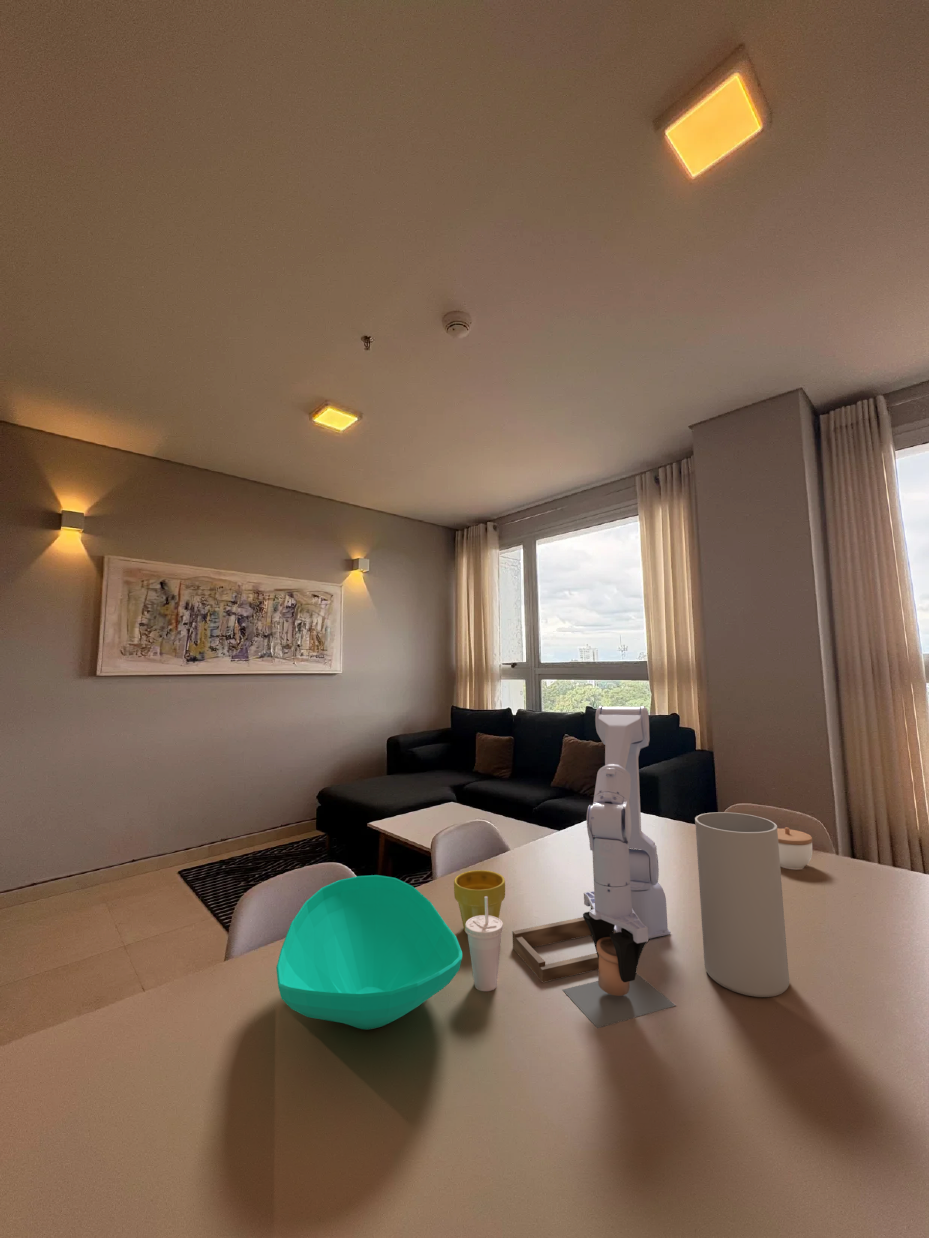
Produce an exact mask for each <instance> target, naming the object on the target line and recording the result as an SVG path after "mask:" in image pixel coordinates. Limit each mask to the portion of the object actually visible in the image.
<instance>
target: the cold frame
mask: <svg viewBox="0 0 929 1238" xmlns="http://www.w3.org/2000/svg"><path fill="white" fill-rule="evenodd" d="M511 933H512V935H511V936H512V949H513V950H514V952H515V953H517V954H519V955H518V956H519V957H520V958H521V959H522V961H523V962H524V963H525V964H526V965H527V967H529V969H530V970H531V971H532V972H533V973H534V974H535V975H536V976H537V978H538V979H539V980H540V981H541V982H542V983H547V982H553V981H555V980H558V979H564V978H568V977H572V976H576V974H577V975H579V974H584V973H589V972H593V971H597V970H598V969H599V959H598V956H597V952H596V953H591V954H586V955H581V956H578V957H573V958H569V959H564V960H560V961H556V962H550V963H548V964H546V961H545V960H544V959H543V957H542V956H540V954H539V953H538V952H537V951H536V950H535V949H534V948H536V947H537V946H538V947H542V946H546V945H547V946H548V945H550V944H557V943H559V942H560V941H561V942H564V941H570V940H575V939H578V938H584V937H588V936H592V935H591V932H590V930H589V927H588V925H587V923H586V921H585V920H584V918H583V916H581V917H577V918H572V919H566V920H561V921H557V922H552V923H547V924H542V925H538V926H537V925H536V926H532V927H527V928H523V929H517V930H513V931H511ZM614 933H616V932H615V931H614ZM574 938H575V939H574ZM532 947H533V948H532ZM538 947H537V948H538Z"/></svg>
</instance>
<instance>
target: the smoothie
mask: <svg viewBox="0 0 929 1238" xmlns="http://www.w3.org/2000/svg"><path fill="white" fill-rule="evenodd" d="M503 931H504V922H503V921H502V919H500V917H499V918H497V917H494V916H489V915H488V897H487V896H485V915H480V916H475V917H472V918H470V919H468V920H467V921H466V924H465V931H464V932H465V934H466V935H467V940H468V947H469V954H470V960H471V968H472V970H471V971H472V975H473V981H474V982H473V983H474V988H475V989H477V990H478V991H481V992H491V991H494V990H495V989H496V988H497V986H498V975H499V974H498V973H499V964H500V954H501V953H500V951H501V943H502V942H501V941H502V939H501V938H502V933H503Z"/></svg>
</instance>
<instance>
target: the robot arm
mask: <svg viewBox="0 0 929 1238" xmlns="http://www.w3.org/2000/svg"><path fill="white" fill-rule="evenodd" d="M594 716H595V718H594V721H595V729H596V733H597V735H598V737H599V738H600V740H601V742H602V743H603V745H605V746H604V748H605V751H604V752H605V753H604V765H603V766H602V767H600V768H599V769H598V771H597V774H596V781H595V786H594V787H595V788H594V795H593V802H592V804H589V805H588V806H587V811H586V829H587V835H588V839H589V848H590V849H589V850H590V851H591V852H592V870H593V871H592V874H593V890H592V891H590V890H589V891H586V892H583V904H584V906H586V907H590V909H589V911H586V912H584V913H583V914H582V917H583V918H584V920H585V921H586V923H587V925H588V927H589V930H590V932H591V935H590V936H591V938H592V942H593V944H594V947H595V952H596V953H597V941H598V940H599V939H601V938H604V937H610V938H611V940H612V942H613V945H614V947H615V950H616V954H617V959H618V966H619V973H620V977H621V980H622V981H623V982H629V981H633V980H635V976H636V973H637V971H638V965H639V962H640V958H641V955H642V952H643V950H644V947H645V946H646V944H647V943H648V941H649V939H650V940H651V939H655V938H659V937H662V936H668V935H671V930H670V929H669V927H668V924H669V923H668V912H667V909H668V908H667V897H666V893H665V891H664V889H663V887H662V885H661V884H660V883H659V875H660V874H659V873H660V872H659V870H660V869H659V856H658V851H657V845H656V843H655V841H654V840H653V839H652V838H650V837H649V836H648V835H646V834H645V833H644V832H643V830H642V815H641V813H642V812H641V796H640V795H641V794H640V791H641V790H640V789H641V788H640V772H639V769H640V768H639V756H640V751H641V750H642V749H644V748H646V747H649V744H650V739H651V738H650V717H649V710H648V708H647V707H646V706H645V705H641V706H603V705H599V706H598V707H597V708H596V710H595V715H594ZM614 932H615V933H614ZM597 956H598V959H599V954H598V953H597Z"/></svg>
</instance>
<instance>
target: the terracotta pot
mask: <svg viewBox="0 0 929 1238" xmlns="http://www.w3.org/2000/svg"><path fill="white" fill-rule="evenodd" d="M596 953H598V954H599V969H597V970H598V974H597V979H598V980H597V981H598V984H599V987H600V988H601V989H602V990H603V991H605V992H606V993H608V994H611V995H615V996H622V995H625V994H627V993H628V992H629V988H630V981H629V982H623V981H622V980H621V977H620V973H619V966H618V959H617V954H616V950H615V947H614V945H613V942H612V940H611V938H610V937H604V938H601V939H599V940H598V941H597V952H596Z"/></svg>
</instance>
